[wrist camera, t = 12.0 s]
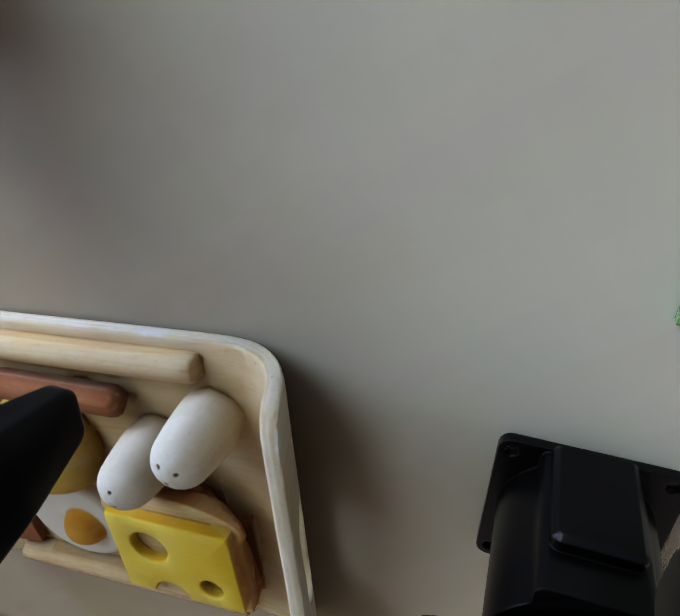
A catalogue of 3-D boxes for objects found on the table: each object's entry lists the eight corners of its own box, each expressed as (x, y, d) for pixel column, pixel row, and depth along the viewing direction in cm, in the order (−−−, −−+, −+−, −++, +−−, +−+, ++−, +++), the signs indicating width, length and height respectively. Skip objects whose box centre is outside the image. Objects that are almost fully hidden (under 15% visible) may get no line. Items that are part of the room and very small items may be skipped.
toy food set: (-8, 527, 40) (-114, 635, 34) (-137, 289, 31) (-315, 376, 25) (353, 624, 32) (302, 787, 26) (322, 343, 23) (232, 492, 17)
